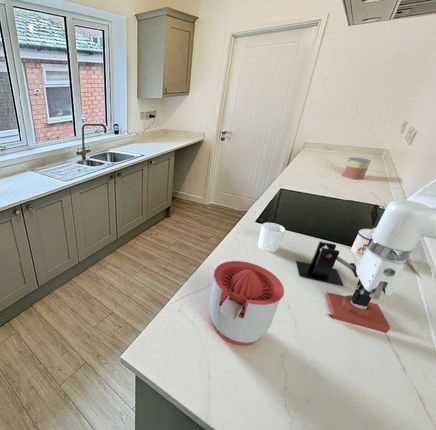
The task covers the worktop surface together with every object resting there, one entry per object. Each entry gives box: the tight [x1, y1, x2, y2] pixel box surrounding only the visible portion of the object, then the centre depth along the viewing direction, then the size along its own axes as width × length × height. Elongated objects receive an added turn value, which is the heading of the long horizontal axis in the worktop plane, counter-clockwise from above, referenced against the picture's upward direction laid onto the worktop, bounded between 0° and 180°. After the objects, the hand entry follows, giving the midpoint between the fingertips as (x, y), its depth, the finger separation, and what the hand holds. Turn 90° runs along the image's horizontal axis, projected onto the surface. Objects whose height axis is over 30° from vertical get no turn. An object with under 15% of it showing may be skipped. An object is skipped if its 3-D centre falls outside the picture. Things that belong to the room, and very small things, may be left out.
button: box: [350, 300, 367, 309], centre depth 74 cm, size 4×4×2 cm
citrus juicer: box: [209, 260, 285, 347], centre depth 67 cm, size 16×17×20 cm
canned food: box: [342, 157, 372, 180], centre depth 178 cm, size 11×11×12 cm
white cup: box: [257, 222, 286, 253], centre depth 103 cm, size 8×8×10 cm
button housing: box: [325, 291, 391, 334], centre depth 74 cm, size 12×9×4 cm
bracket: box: [295, 241, 345, 287], centre depth 88 cm, size 12×9×12 cm
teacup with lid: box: [350, 227, 376, 258], centre depth 97 cm, size 12×9×12 cm
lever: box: [320, 245, 359, 278], centre depth 85 cm, size 12×6×2 cm
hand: (358, 303), depth 73 cm, fingers closed
